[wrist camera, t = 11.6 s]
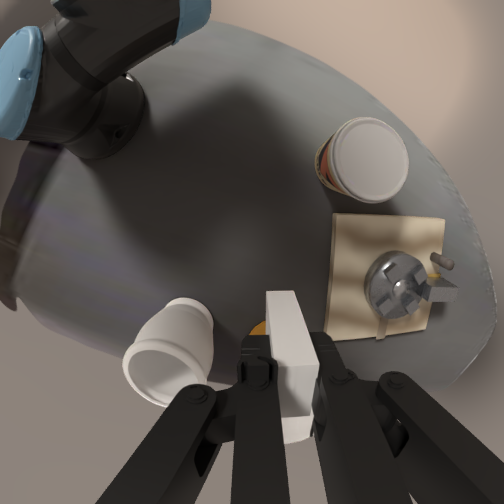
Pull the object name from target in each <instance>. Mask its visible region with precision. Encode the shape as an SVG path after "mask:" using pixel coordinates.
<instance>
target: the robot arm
mask: <svg viewBox="0 0 504 504" xmlns="http://www.w3.org/2000/svg"><path fill="white" fill-rule="evenodd" d="M51 4H52V5H53V6H54V7H55V8H56V9H57V10H58V11H59V13H58V14H57V15H56V16H54V17H53V18H52V19H51V20H50V21H49V22H48V23H46V24H45V25H44V26H43V27H42V28H41V29H39V28H38V27H36V26H27V27H24V28H22V29H21V30H18V31H16V32H15V33H14V34H13V35H12V36H11V37H10V38H9V39H8V40H7V41H6V42H5V44H4V45H3V46H2V48H1V49H0V137H4V138H7V139H9V140H28V141H41V142H52V143H60V144H62V145H63V146H64V147H65V148H67V149H68V150H69V151H70V152H72V153H73V154H74V155H76V156H79V157H81V158H87V159H101V158H105V157H108V156H110V155H112V154H114V153H116V152H117V151H119V150H120V149H121V148H122V147H123V146H124V145H125V144H126V143H127V142H128V141H129V140H130V139H131V137H132V136H133V135H134V133H135V131H136V130H137V128H138V126H139V124H140V121H141V118H142V115H143V110H144V94H143V90H142V88H141V85H140V84H139V82H138V81H137V80H136V79H135V78H134V77H133V76H132V75H130V74H129V73H128V72H127V71H128V70H130V69H131V68H133V67H134V66H136V65H137V64H139V63H141V62H142V61H144V60H145V59H147V58H149V57H150V56H152V55H154V54H156V53H157V52H159V51H161V50H163V49H164V48H166V47H168V46H170V45H175V44H176V43H178V42H179V40H180V39H182V38H184V37H186V36H187V35H189V34H191V33H193V32H195V31H197V30H199V29H201V28H202V27H203V26H204V25H205V24H206V23H207V21H208V19H209V17H210V13H211V0H51ZM237 373H238V382H237V383H236V384H235V385H234V386H232V387H230V388H228V389H225V390H221V391H215V390H214V389H212V388H211V387H209V386H207V385H204V384H191V385H188V386H185V387H183V388H182V389H181V390H180V391H179V392H178V393H177V394H176V396H175V397H174V398H173V400H172V401H171V403H170V404H169V405H168V407H167V408H166V410H165V411H164V412H163V414H162V415H161V416H160V418H159V419H158V421H157V422H156V423H155V425H154V426H153V428H152V429H151V431H150V432H149V433H148V434H147V436H146V437H145V438H144V440H143V441H142V442H141V444H140V445H139V446H138V448H137V449H136V450H135V452H134V453H133V455H132V456H131V457H130V458H129V460H128V461H127V463H126V464H125V465H124V466H123V468H122V469H121V470H120V472H119V473H118V475H117V476H116V477H115V478H114V480H113V481H112V482H111V484H110V485H109V486H108V487H107V489H106V490H105V491H104V493H103V494H102V496H101V497H100V498H99V500H97V502H96V503H95V504H194V503H195V501H196V499H197V497H198V495H199V493H200V491H201V489H202V487H203V485H204V483H205V481H206V479H207V476H208V474H209V472H210V470H211V468H212V466H213V464H214V462H215V459H216V457H217V455H218V453H219V451H220V448H221V446H222V443H225V442H229V441H234V455H233V470H232V487H231V504H290V496H289V487H288V476H287V467H286V457H285V447H284V438H283V429H282V420H281V418H288V417H302V416H310V414H311V409H312V410H313V415H314V417H313V421H312V426H311V430H310V437H312V436H313V432H314V437H315V441H316V446H317V451H318V456H319V461H320V466H321V470H322V476H323V481H324V486H325V491H326V496H327V501H328V504H413V503H412V500H411V497H410V495H409V493H410V494H411V496H412V497H413V498H414V499H415V501H416V502H417V503H418V504H504V463H503V462H502V461H501V460H500V459H499V458H498V457H497V456H496V455H495V454H493V453H492V452H491V451H490V450H489V449H488V448H487V447H486V446H485V445H484V444H482V442H481V441H479V440H478V439H477V438H476V437H475V436H474V435H473V434H472V433H471V432H470V431H469V430H467V429H466V428H465V427H464V426H463V425H462V424H461V423H460V422H459V421H458V420H456V419H455V418H454V417H453V416H452V415H451V414H450V413H449V412H448V411H447V410H445V409H444V408H443V407H442V406H441V405H440V404H439V403H438V402H437V401H435V400H434V399H433V398H432V397H431V396H430V395H429V394H428V393H427V392H425V391H424V390H423V389H422V388H421V387H420V386H419V385H418V384H417V383H415V382H414V381H413V380H412V379H411V378H410V377H409V376H407V375H406V374H404V373H401V372H395V371H391V372H386V373H384V374H383V375H381V377H380V379H379V381H366V380H360V379H358V377H357V376H356V374H355V373H354V372H353V371H351V370H349V369H346V368H345V366H344V363H343V361H342V359H341V357H340V355H339V353H338V350H337V348H336V346H335V345H334V342H333V340H332V338H331V337H330V336H329V335H328V334H327V333H325V332H308V329H307V327H306V324H305V321H304V318H303V315H302V312H301V310H300V307H299V304H298V301H297V299H296V296H295V293H294V291H266V335H247V336H246V337H245V338H244V339H243V341H242V352H241V360H240V361H239V362H238V365H237ZM397 419H398V420H399V421H400V422H401V423H400V422H399V421H398V420H397Z"/></svg>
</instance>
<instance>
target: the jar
mask: <svg viewBox="0 0 504 504" xmlns="http://www.w3.org/2000/svg"><path fill="white" fill-rule="evenodd" d="M212 331H213V318H212V316H211V314H210V312H209V310H208V309H207V308H206V307H205V306H204V305H203V304H201V303H200V302H198V301H196V300H194V299H191V298H177V299H174V300H172V301H171V302H169V303H168V304H167V305H166V307H165V308H164V309H162V310H161V311H159V312H158V313H157V314H156V315H155V316H153V317H152V318H151V319H150V320H149V321H147V323H146V324H145V325H144V326H143V327H142V329H141V330H140V332H139V333H138V335H137V337H136V340H135V342H134V344H133V345H131V346H130V347H129V348H128V349H127V351H126V353H125V355H124V357H123V362H122V366H123V371H124V375H125V377H126V379H127V381H128V382H129V384H130V385H131V386H132V388H133V389H135V391H136V392H138V393H139V394H140V395H141V396H142V397H144V398H145V399H147V400H149V401H150V402H153V403H155V404H157V405H160V406H163V407H168V405H169V404H170V403H171V401H172V400H173V398H174V397H175V396H176V394H177V393H178V392H179V391H180V390H181V389H182V388H183V387H185V386H188V385H191V384H204V385H207V377H208V374H209V372H210V369H211V366H212V362H213V354H214V346H213V333H212Z"/></svg>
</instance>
